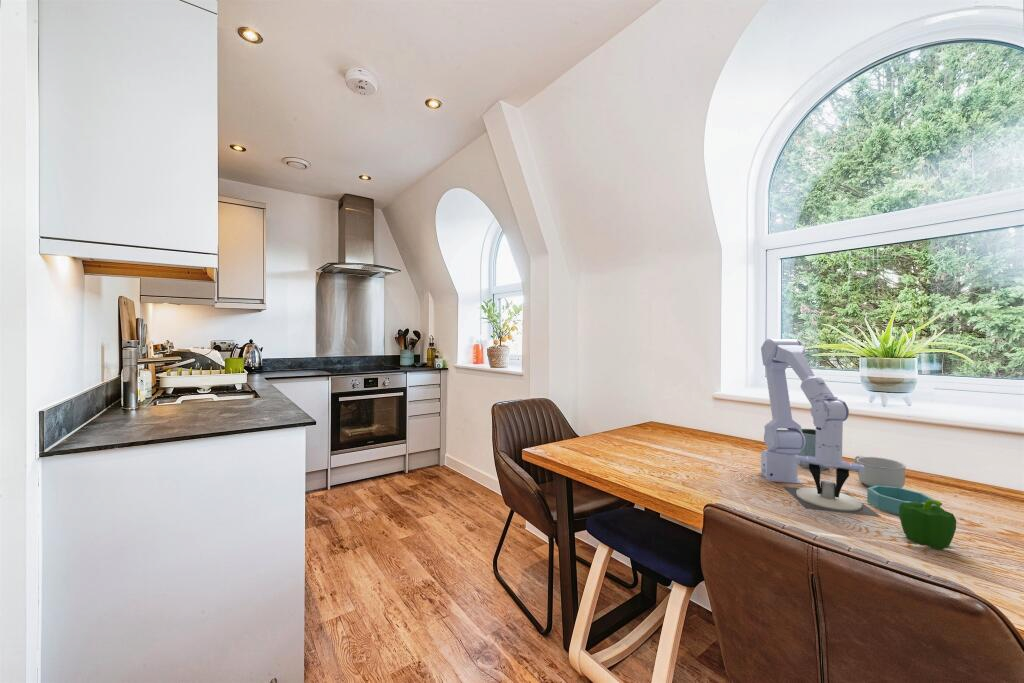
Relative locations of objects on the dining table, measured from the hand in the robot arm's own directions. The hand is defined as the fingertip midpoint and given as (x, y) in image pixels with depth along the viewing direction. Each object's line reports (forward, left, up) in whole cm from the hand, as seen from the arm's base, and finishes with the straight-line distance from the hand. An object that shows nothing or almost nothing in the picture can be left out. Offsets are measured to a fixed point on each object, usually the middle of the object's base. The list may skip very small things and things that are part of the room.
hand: (827, 494), depth 110 cm
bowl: (+16, 0, -2) cm, 16 cm away
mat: (0, 0, -2) cm, 2 cm away
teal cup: (+10, +36, -2) cm, 37 cm away
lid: (0, 0, -2) cm, 2 cm away
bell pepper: (+10, -20, -2) cm, 22 cm away
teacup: (+20, +19, -2) cm, 28 cm away
